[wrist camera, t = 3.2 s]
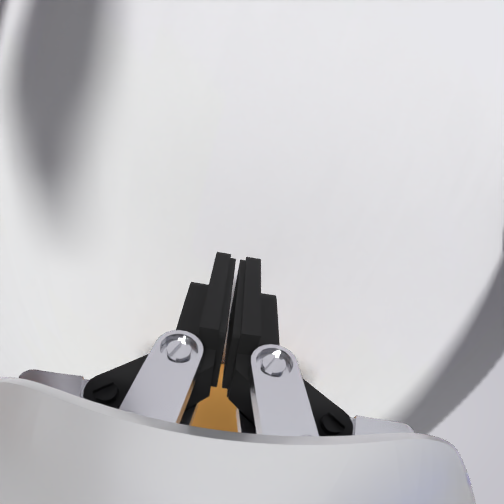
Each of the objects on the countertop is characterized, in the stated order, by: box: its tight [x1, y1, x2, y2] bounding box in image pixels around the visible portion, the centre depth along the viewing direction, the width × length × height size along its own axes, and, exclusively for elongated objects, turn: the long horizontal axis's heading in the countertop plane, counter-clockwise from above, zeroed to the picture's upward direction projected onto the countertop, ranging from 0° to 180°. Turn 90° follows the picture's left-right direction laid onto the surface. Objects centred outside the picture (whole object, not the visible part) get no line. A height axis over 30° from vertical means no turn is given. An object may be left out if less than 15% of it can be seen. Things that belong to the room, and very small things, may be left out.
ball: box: [191, 364, 238, 432], centre depth 16 cm, size 6×6×6 cm
